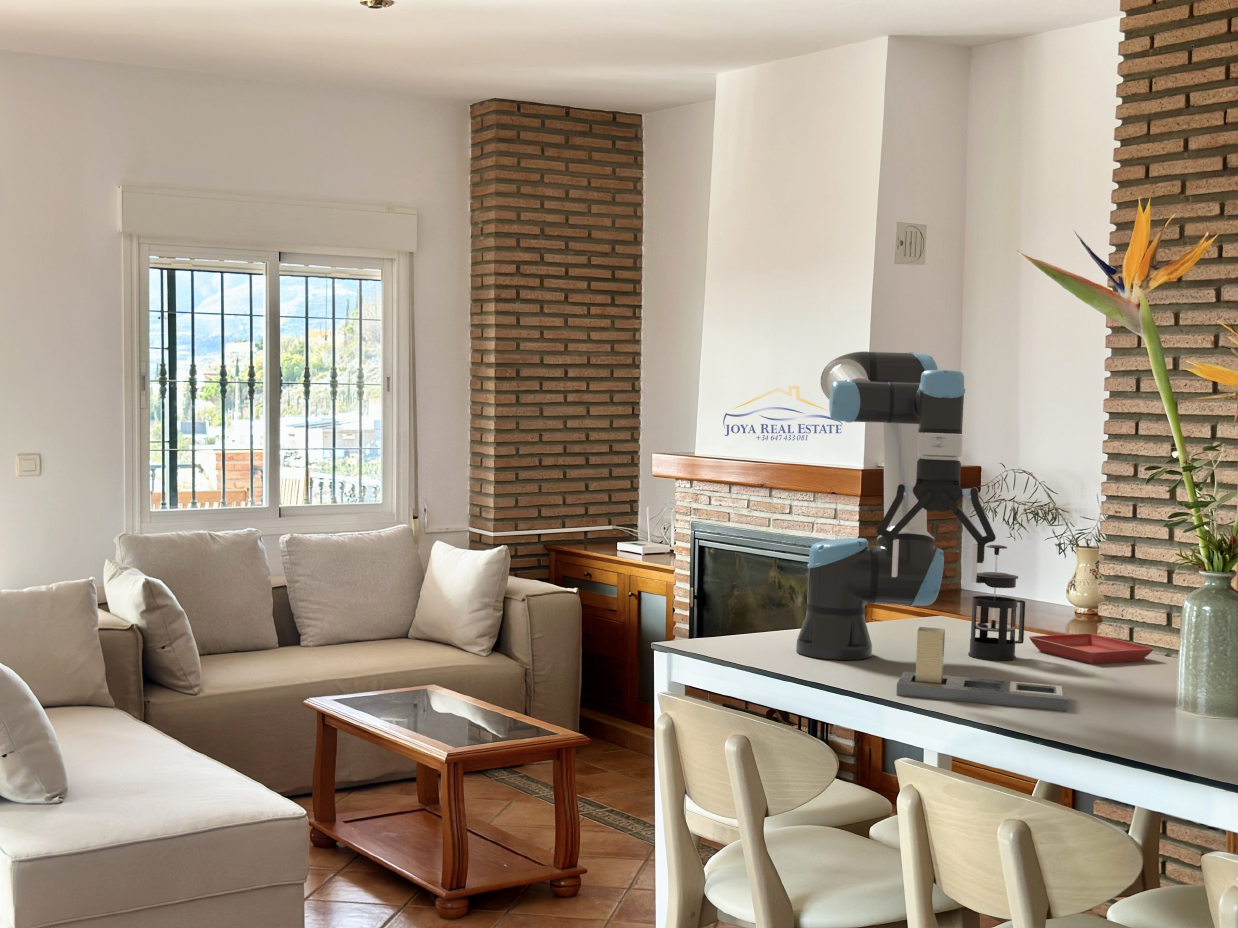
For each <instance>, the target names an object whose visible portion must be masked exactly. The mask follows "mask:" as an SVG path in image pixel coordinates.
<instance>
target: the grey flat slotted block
mask: <svg viewBox="0 0 1238 928" xmlns="http://www.w3.org/2000/svg"><path fill="white" fill-rule="evenodd" d="M915 677H916V672H911V671H903V672H902V673H901V675H900V678H899V679H898V681H897V683H896V696H900V697H901V696H903V697H912V698H923V699H924V698H925V699H931V700H932V699H933V700H943V701H954V702H966V703H973V704H974V703H975V704H985V705H996V706H1007V707H1017V708H1027V709H1038V710H1049V711H1061V712H1068V695H1067V694H1068V693H1067V687H1066V686H1065V685H1057V684H1045V683H1034V682H1033V683H1032V682H1022V681H1012V680H1011V681H1010V680H1002V679H990V678H989V679H987V678H977V677H966V676H955V675H944V674H943V684H942V685H941V684H930V683H919V682H915Z"/></svg>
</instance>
